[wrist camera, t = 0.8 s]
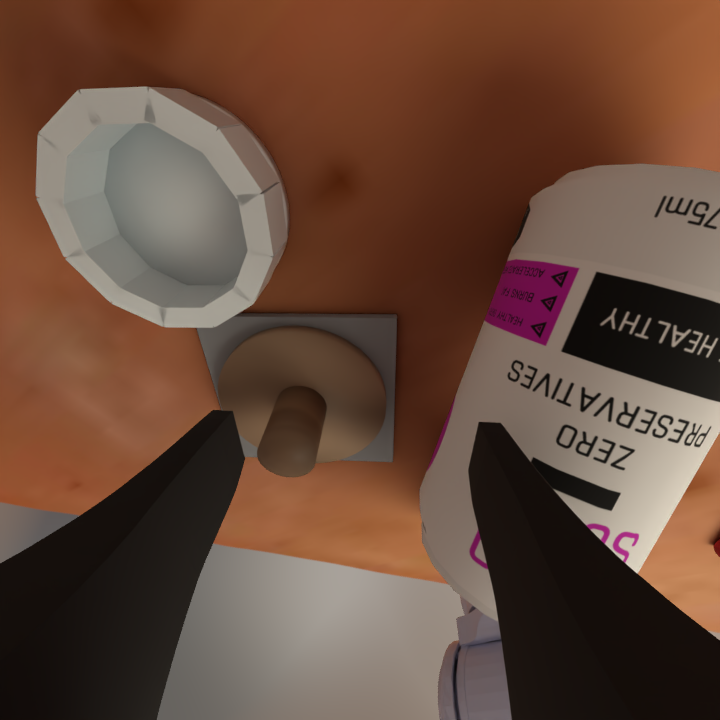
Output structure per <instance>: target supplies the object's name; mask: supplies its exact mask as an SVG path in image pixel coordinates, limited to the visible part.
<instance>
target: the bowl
mask: <svg viewBox="0 0 720 720" xmlns="http://www.w3.org/2000/svg"><path fill="white" fill-rule="evenodd" d="M38 133H39V134H38V139H37V169H36V196H37V197H38V198H36V199H37V201H38V203H39V205H40V207H41V209H42V212H43V214H44V216H45V218H46V220H47V222H48V224H49V226H50V229H51V231H52V233H53V235H54V237H55V239H56V241H57V244H58V246H59V248H60V250H61V252H62V254H63V256H64V257H67V258H66V260H67V261H68V262H69V263H70V264H71V265H72V266H73V267H74V268H75V269H76V270H77V271H78V272H79V273H80V274H81V275H82V276H83V277H84V278H85V279H86V280H87V281H88V282H89V283H90V284H91V285H93V286H94V287H95V288H96V289H97V290H98V291H99V292H100V293H101V294H102V295H103V296H104V297H105V298H106V299H107V300H108V301H109V302H112V304H113V305H116V306H118V307H120V308H122V309H124V310H127V311H129V312H131V313H133V314H135V315H138V316H140V317H142V318H144V319H147V320H149V321H151V322H153V323H155V324H158V325H160V326H162V327H163V326H164V327H189V328H213V327H216V326H218V325H220V324H221V323H223V322H225V321H226V320H228V319H230V318H231V317H233V316H235V315H236V314H238V313H240V312H241V311H243V310H245V309H246V308H248V307H250V306H251V305H253V304H254V303H255V301H256V300H257V298H258V297H259V296H260V294H261V293H262V291H263V290H264V288H265V287H266V285H267V284H268V283H269V281H270V279H271V277H272V274H273V272H274V269H275V267H276V266H277V264H278V263H279V261H280V259H281V257H282V255H283V253H284V250H285V247H286V244H287V240H288V235H289V227H290V211H289V202H288V197H287V192H286V189H285V185H284V182H283V179H282V177H281V174H280V172H279V170H278V167H277V165H276V163H275V162H274V160H273V158H272V156H271V155H270V153H269V151H268V150H267V148H266V147H265V146H264V144H263V143H262V142H261V140H260V139H259V138H258V136H257V135H256V134H255V133H254V132H253V131H252V130H251V129H250V128H249V127H248V126H247V125H246V124H245V123H244V122H243V121H242V120H240V119H239V118H238V117H237V116H236V115H234V114H233V113H231V112H230V111H228V110H227V109H225V108H224V107H222V106H221V105H219V104H217V103H215V102H213V101H211V100H209V99H206V98H203V97H201V96H198V95H195V94H191V93H189V92H187V91H186V90H184V89H176V88H161V87H123V88H98V89H80V90H77V91H76V92H75V93H74V94H73V96H72V97H71V98H70V99H69V100H68V101H67V102H66V103H65V104H64V105H63V106H62V107H61V109H60V110H59V111H58V112H57V113H56V114H55V115H54V116H53V117H52V118H51V119H50V120H49V122H48V123H47V124H46V125H45V126H44V127H43V128H42V129H41V130H40V131H39V132H38Z"/></svg>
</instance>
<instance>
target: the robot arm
mask: <svg viewBox="0 0 720 720" xmlns="http://www.w3.org/2000/svg"><path fill="white" fill-rule="evenodd" d="M244 460H245V457H244V453H243V449H242V445H241V441H240V437H239V433H238V429H237V425H236V421H235V417H234V413H233V411H222V410H213V411H211V412H210V413H209V414H208V415H207V416H206V417H204V418H203V419H202V420H201V421H200V422H199V423H197V424H196V425H195V426H194V427H193V428H192V429H191V430H190V431H188V432H187V433H186V434H185V435H184V436H183V437H182V438H180V439H179V440H178V441H177V442H176V443H175V444H173V445H172V446H171V447H170V448H169V449H168V450H166V451H165V452H164V453H163V454H162V455H161V456H159V457H158V458H157V459H156V460H155V461H153V462H152V463H151V464H150V465H148V466H147V467H146V468H145V469H143V470H142V471H141V472H139V473H138V474H137V475H136V476H134V477H133V478H132V479H131V480H129V481H128V482H127V483H126V484H124V485H123V486H122V487H120V488H119V489H118V490H116V491H115V492H114V493H112V494H111V495H109V496H108V497H107V498H105V499H104V500H102V501H101V502H100V503H98V504H97V505H95V506H94V507H92V508H91V509H89V510H88V511H86V512H85V513H83V514H82V515H81V516H79V517H77V518H76V519H74V520H73V521H71V522H70V523H68V524H66V525H65V526H63V527H61V528H60V529H58V530H57V531H55V532H53V533H52V534H50V535H49V536H47V537H45V538H44V539H42V540H40V541H39V542H37V543H35V544H34V545H32V546H30V547H29V548H27V549H25V550H24V551H22V552H20V553H18V554H16V555H15V556H13V557H11V558H9V559H7V560H6V561H4V562H2V563H0V720H156V719H157V715H158V712H159V707H160V704H161V700H162V696H163V693H164V689H165V685H166V682H167V678H168V675H169V671H170V668H171V664H172V661H173V657H174V654H175V650H176V647H177V644H178V640H179V637H180V634H181V631H182V627H183V624H184V621H185V618H186V614H187V611H188V608H189V605H190V602H191V599H192V596H193V593H194V590H195V587H196V584H197V581H198V578H199V576H200V573H201V570H202V568H203V565H204V563H205V560H206V558H207V556H208V554H209V551H210V549H211V546H212V544H213V542H214V540H215V538H216V535H217V533H218V531H219V528H220V526H221V524H222V521H223V519H224V517H225V515H226V512H227V510H228V508H229V505H230V503H231V501H232V498H233V496H234V493H235V491H236V488H237V485H238V481H239V478H240V475H241V471H242V468H243V464H244ZM468 474H469V483H470V491H471V499H472V505H473V509H474V514H475V518H476V522H477V526H478V530H479V534H480V538H481V542H482V546H483V550H484V555H485V559H486V563H487V567H488V571H489V575H490V579H491V583H492V588H493V593H494V597H495V603H496V609H497V616H498V621H496V620H494V619H492V618H490V617H488V616H486V615H484V614H483V613H482V612H481V611H479V610H478V609H477V608H476V607H474V606H473V605H472V604H470V603H469V602H468V601H467V600H465V599H464V598H463V597H462V596H460V598H461V604H462V607H463V611H464V614H465V616H462V617H458V618H457V619H456V620H457V628H458V636H459V640H458V641H454V642H452V643H451V644H450V645H449V646H448V648H447V650H446V652H445V655H444V658H443V663H442V666H441V669H440V674H439V682H438V706H439V717H440V720H720V640H718V639H717V638H716V637H715V636H713V635H712V634H711V633H709V632H708V631H707V630H706V629H704V628H703V627H702V626H700V625H699V624H698V623H696V622H695V621H694V620H693V619H691V618H690V617H689V616H687V615H686V614H685V613H684V612H682V611H681V610H680V609H679V608H677V607H676V606H675V605H674V604H673V603H671V602H670V601H669V600H668V599H666V598H665V597H664V596H663V595H662V594H661V593H659V592H658V591H657V590H656V589H655V588H654V587H652V586H651V585H650V584H649V583H648V582H647V581H645V580H644V579H643V578H642V577H641V576H639V575H638V574H637V573H636V572H635V571H634V570H632V569H631V568H630V567H629V566H628V565H627V564H626V563H625V562H624V561H622V560H621V559H620V558H619V557H618V556H617V555H616V554H615V553H614V552H613V551H612V550H611V549H610V548H609V547H608V546H606V545H605V544H604V543H603V542H602V541H601V540H600V539H599V538H598V537H597V536H596V535H595V534H594V533H593V532H592V531H591V530H590V529H589V528H588V527H587V526H586V525H585V524H584V523H583V522H582V521H581V519H580V518H579V517H578V516H577V515H576V514H575V513H574V512H573V511H572V510H571V509H570V508H569V506H568V505H567V504H566V503H565V502H564V501H563V500H562V499H561V498H560V496H559V495H558V494H557V493H556V492H555V491H554V490H553V488H552V487H551V486H550V485H549V484H548V482H547V481H546V480H545V479H544V478H543V476H542V475H541V474H540V473H539V472H538V470H537V469H536V468H535V467H534V465H533V464H532V463H531V462H530V460H529V459H528V458H527V456H526V455H525V454H524V453H523V451H522V450H521V449H520V447H519V446H518V445H517V443H516V442H515V441H514V439H513V438H512V437H511V435H510V434H509V433H508V431H507V430H506V429H505V427H504V426H503V425H502V424H501V423H496V422H479V423H478V427H477V432H476V436H475V441H474V445H473V450H472V454H471V459H470V463H469V468H468Z"/></svg>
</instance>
